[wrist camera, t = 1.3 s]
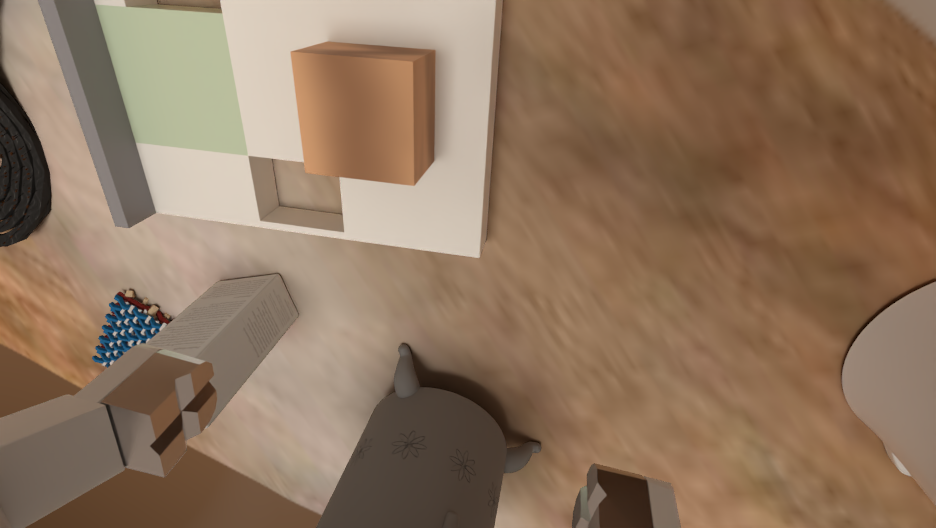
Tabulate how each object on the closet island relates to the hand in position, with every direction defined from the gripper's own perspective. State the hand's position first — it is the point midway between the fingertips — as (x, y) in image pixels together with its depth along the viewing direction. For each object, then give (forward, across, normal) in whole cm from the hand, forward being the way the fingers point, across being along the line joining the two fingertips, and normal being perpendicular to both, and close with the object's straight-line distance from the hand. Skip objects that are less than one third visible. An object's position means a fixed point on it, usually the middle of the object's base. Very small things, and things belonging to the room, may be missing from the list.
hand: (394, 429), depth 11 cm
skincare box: (+24, +17, +18) cm, 34 cm away
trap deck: (+23, +13, 0) cm, 27 cm away
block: (+21, +7, -1) cm, 22 cm away
